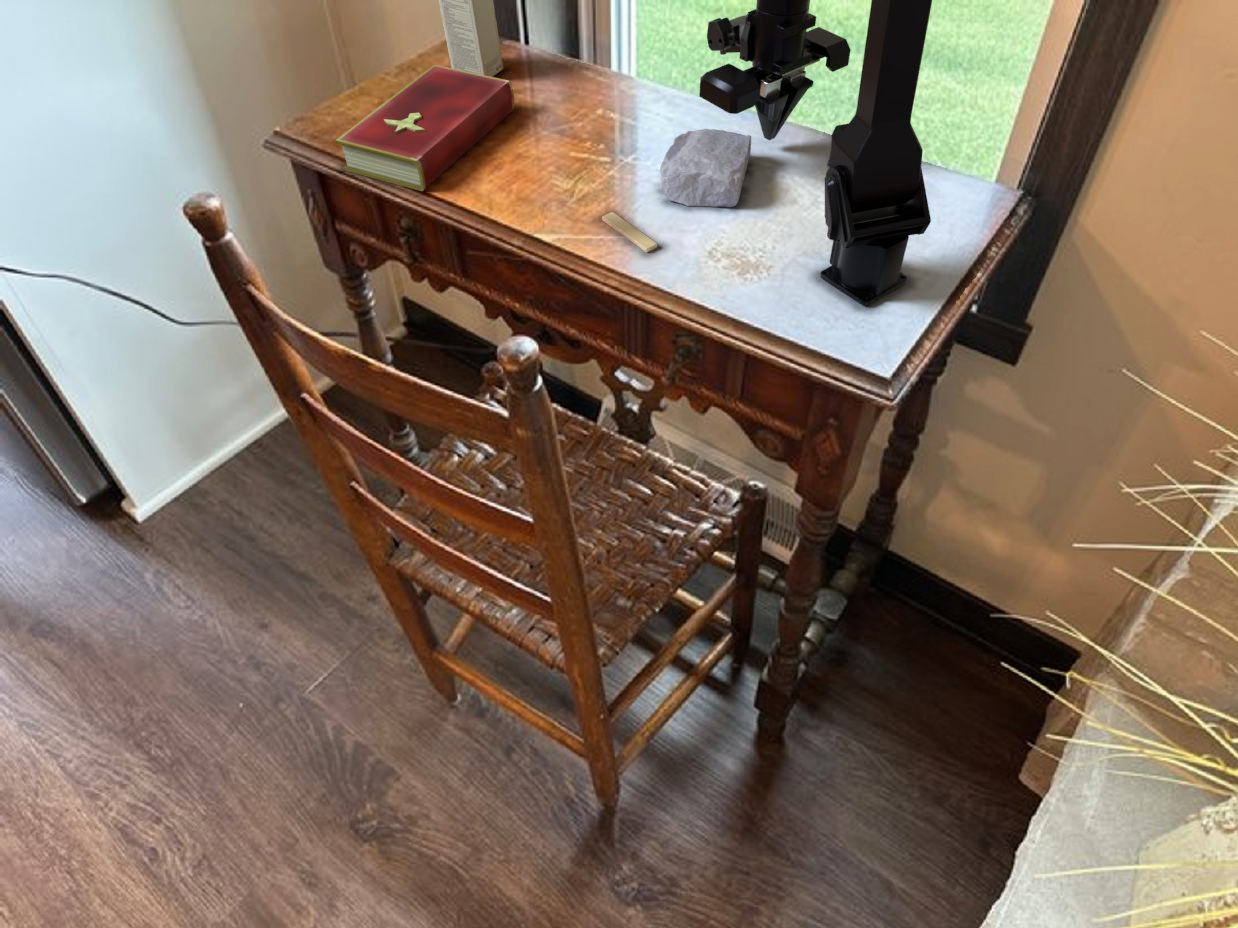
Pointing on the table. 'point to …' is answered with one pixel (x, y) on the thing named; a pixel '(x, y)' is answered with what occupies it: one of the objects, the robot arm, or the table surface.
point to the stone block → (706, 168)
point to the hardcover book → (426, 126)
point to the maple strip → (629, 232)
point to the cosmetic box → (472, 35)
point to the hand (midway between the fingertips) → (769, 138)
